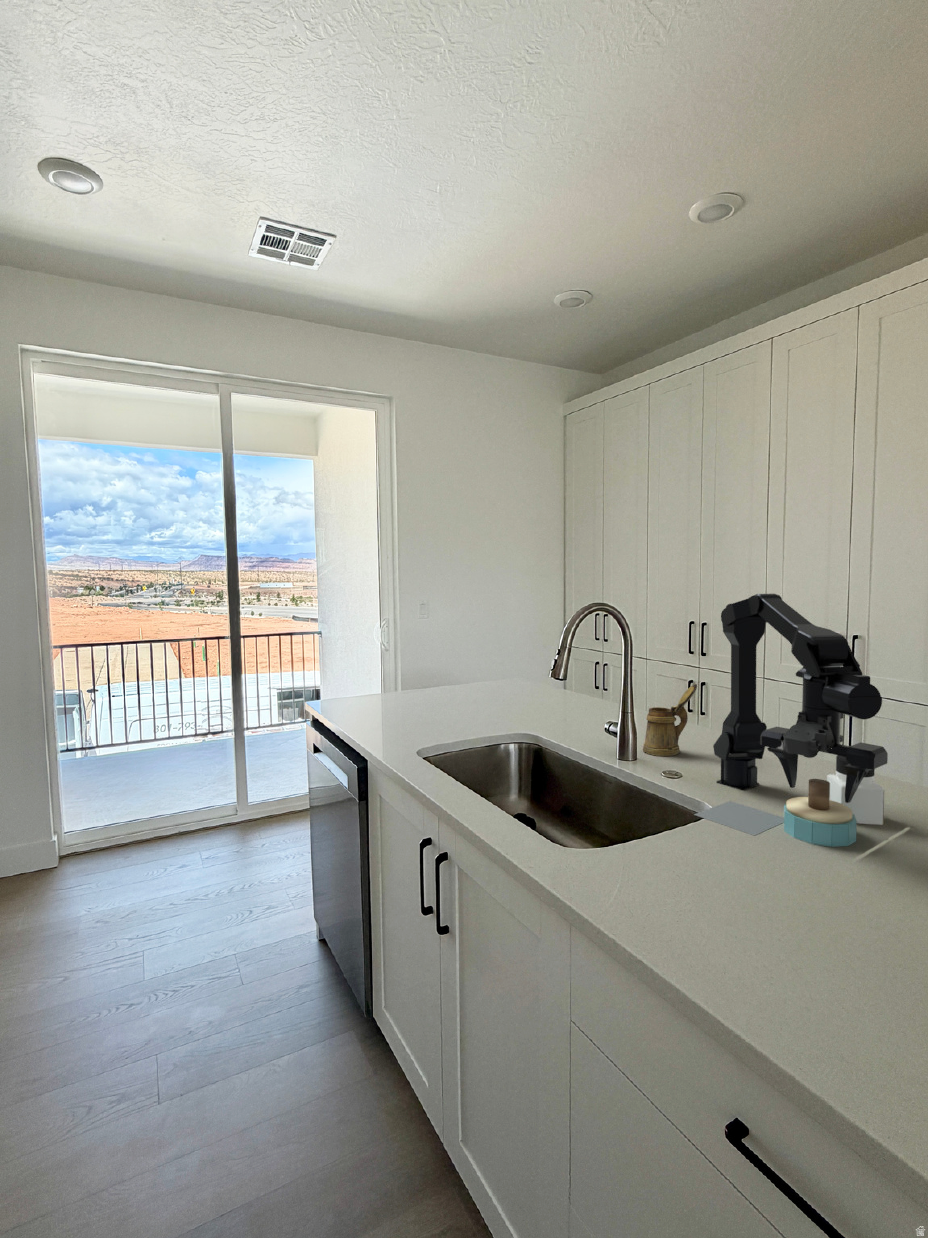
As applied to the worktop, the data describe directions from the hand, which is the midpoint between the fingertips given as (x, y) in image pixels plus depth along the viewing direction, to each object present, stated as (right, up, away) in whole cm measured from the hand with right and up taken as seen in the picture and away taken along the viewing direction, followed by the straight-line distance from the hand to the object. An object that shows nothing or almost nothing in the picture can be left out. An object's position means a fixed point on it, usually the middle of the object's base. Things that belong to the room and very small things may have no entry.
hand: (819, 794), depth 107 cm
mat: (-10, -7, +8) cm, 15 cm away
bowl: (0, -7, 0) cm, 7 cm away
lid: (0, -3, 0) cm, 3 cm away
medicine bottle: (+11, -7, +8) cm, 15 cm away
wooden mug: (-8, -4, +53) cm, 54 cm away
